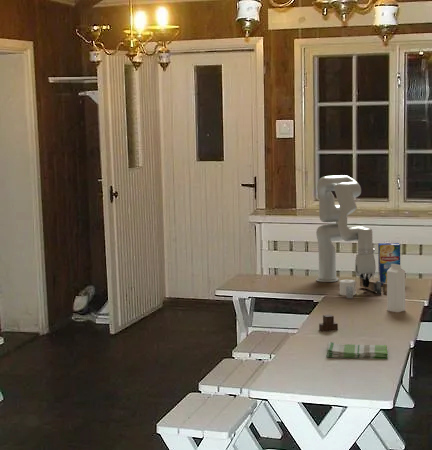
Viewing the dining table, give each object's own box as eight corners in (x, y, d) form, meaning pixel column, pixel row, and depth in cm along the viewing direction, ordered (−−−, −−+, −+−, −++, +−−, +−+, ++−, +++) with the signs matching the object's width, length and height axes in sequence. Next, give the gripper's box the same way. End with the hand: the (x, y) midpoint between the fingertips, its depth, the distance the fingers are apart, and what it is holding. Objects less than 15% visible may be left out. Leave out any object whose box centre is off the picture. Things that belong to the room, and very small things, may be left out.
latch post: (346, 297, 427) (346, 286, 426) (350, 297, 427) (350, 285, 427) (348, 298, 424) (348, 286, 424) (352, 298, 425) (352, 286, 424)
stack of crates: (320, 337, 351) (320, 321, 351) (307, 329, 366) (307, 314, 365) (353, 334, 355) (353, 318, 354) (339, 326, 370) (339, 311, 369)
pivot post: (375, 293, 435) (375, 281, 434) (379, 293, 435) (379, 280, 435) (377, 294, 432) (377, 282, 432) (382, 294, 433) (381, 281, 432)
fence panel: (382, 292, 436) (382, 280, 435) (399, 291, 439) (399, 279, 438) (385, 293, 433) (385, 281, 433) (401, 292, 436) (401, 280, 435)
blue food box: (400, 284, 456) (400, 244, 454) (380, 285, 457) (379, 245, 454) (398, 282, 463) (398, 242, 460) (378, 282, 464) (378, 243, 461)
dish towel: (327, 347, 335) (327, 339, 335) (386, 348, 331) (386, 339, 331) (326, 359, 318) (325, 350, 318) (388, 360, 314) (388, 351, 314)
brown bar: (359, 286, 451) (359, 276, 451) (364, 285, 452) (364, 276, 452) (374, 291, 435) (374, 281, 434) (379, 291, 436) (379, 281, 435)
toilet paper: (349, 291, 444) (349, 278, 443) (358, 295, 433) (358, 281, 432) (334, 292, 442) (334, 279, 441) (343, 296, 431) (343, 282, 430)
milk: (396, 312, 390) (396, 265, 388) (386, 310, 395) (386, 264, 392) (405, 310, 394) (405, 264, 391) (395, 308, 399) (395, 262, 396)
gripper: (374, 249, 444) (375, 284, 445) (349, 251, 439) (349, 286, 441) (381, 251, 436) (382, 286, 438) (355, 253, 432) (356, 288, 434)
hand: (365, 286), depth 440 cm, fingers closed
